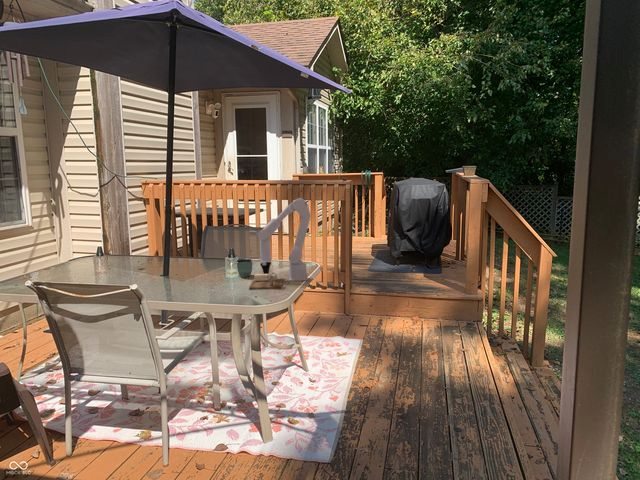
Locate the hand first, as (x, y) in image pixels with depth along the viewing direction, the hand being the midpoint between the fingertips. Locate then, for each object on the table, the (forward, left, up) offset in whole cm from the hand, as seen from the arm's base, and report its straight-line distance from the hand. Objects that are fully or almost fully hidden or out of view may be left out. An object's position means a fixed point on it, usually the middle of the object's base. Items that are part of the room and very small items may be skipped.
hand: (266, 275), depth 272 cm
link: (0, +6, -1) cm, 6 cm away
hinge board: (-1, +12, -2) cm, 13 cm away
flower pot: (+14, -11, -2) cm, 17 cm away
